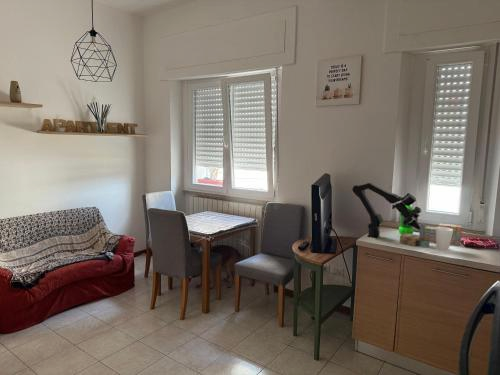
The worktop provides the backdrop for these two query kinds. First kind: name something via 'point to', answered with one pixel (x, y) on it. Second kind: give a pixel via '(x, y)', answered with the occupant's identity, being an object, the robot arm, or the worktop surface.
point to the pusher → (422, 230)
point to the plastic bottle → (405, 228)
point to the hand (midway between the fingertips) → (420, 229)
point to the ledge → (410, 239)
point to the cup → (424, 243)
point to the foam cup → (443, 238)
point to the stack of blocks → (457, 229)
